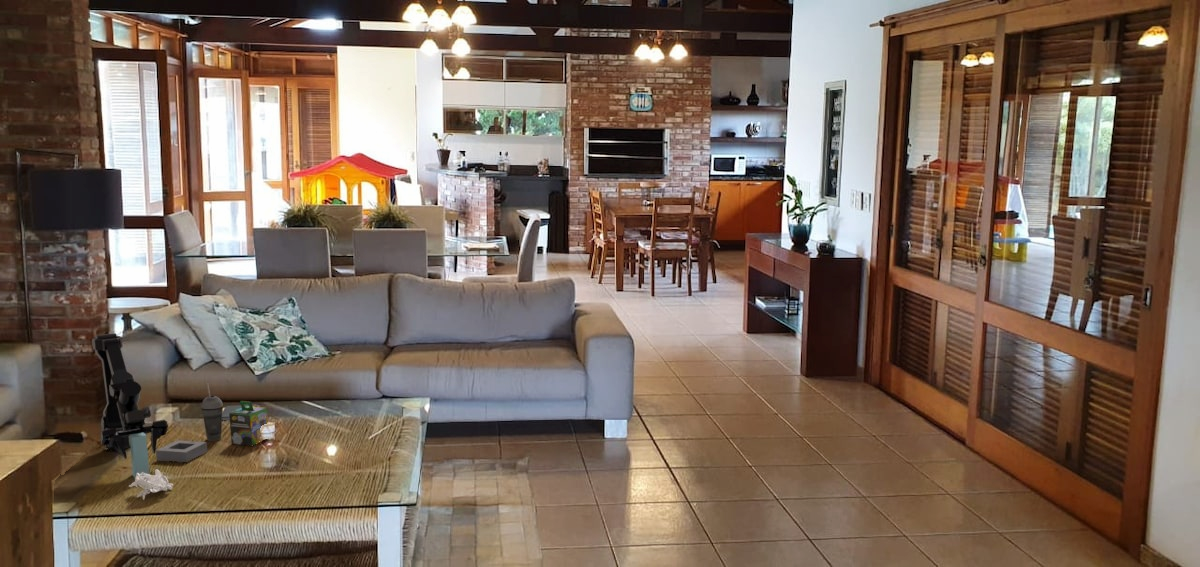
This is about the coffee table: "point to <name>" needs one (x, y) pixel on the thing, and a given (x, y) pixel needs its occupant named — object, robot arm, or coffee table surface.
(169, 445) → the socket
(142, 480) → the white crumpled lump
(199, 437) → the coffee table surface
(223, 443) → the coffee table surface
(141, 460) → the peg
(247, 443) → the chalk box
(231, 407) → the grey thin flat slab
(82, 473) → the coffee table surface
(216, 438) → the beverage cup
